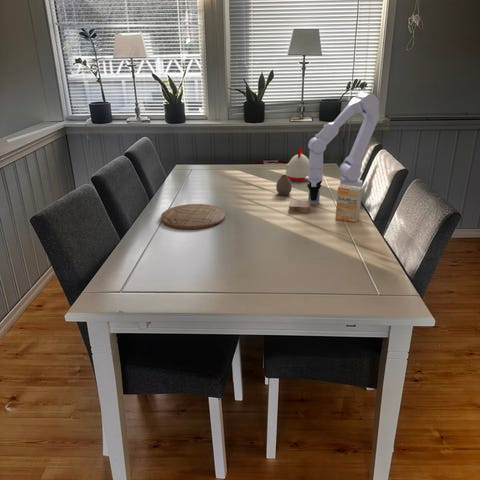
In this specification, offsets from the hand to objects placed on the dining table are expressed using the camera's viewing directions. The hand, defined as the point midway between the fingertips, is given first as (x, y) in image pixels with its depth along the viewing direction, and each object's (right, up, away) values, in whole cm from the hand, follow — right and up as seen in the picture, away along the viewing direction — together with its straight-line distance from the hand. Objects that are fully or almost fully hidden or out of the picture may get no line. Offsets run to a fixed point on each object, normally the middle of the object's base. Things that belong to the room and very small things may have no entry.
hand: (314, 198), depth 192 cm
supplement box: (+10, -10, -19) cm, 24 cm away
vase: (-12, +3, +11) cm, 16 cm away
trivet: (-50, -10, -15) cm, 53 cm away
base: (-7, -6, -8) cm, 12 cm away
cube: (0, -1, +1) cm, 1 cm away
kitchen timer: (-2, +14, +36) cm, 38 cm away
